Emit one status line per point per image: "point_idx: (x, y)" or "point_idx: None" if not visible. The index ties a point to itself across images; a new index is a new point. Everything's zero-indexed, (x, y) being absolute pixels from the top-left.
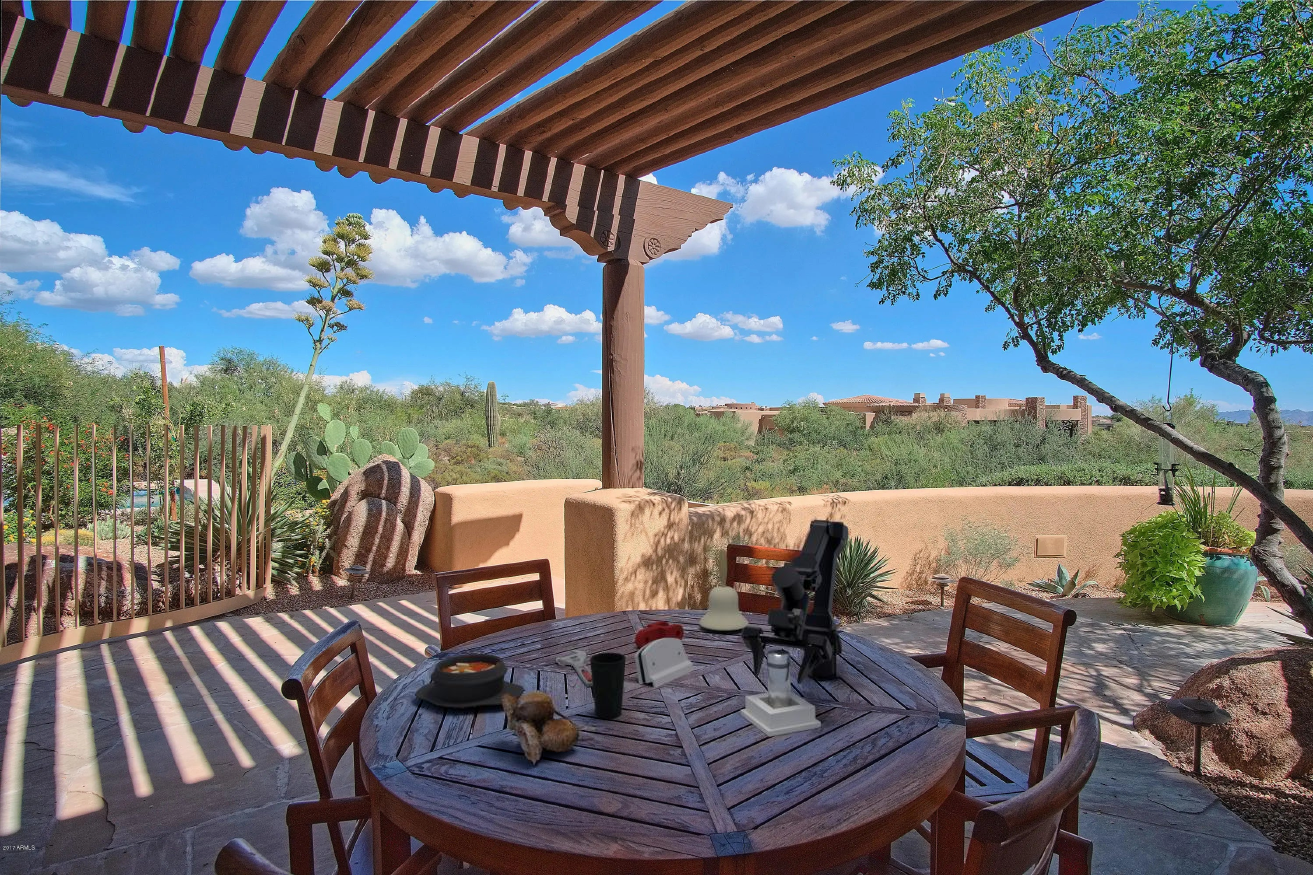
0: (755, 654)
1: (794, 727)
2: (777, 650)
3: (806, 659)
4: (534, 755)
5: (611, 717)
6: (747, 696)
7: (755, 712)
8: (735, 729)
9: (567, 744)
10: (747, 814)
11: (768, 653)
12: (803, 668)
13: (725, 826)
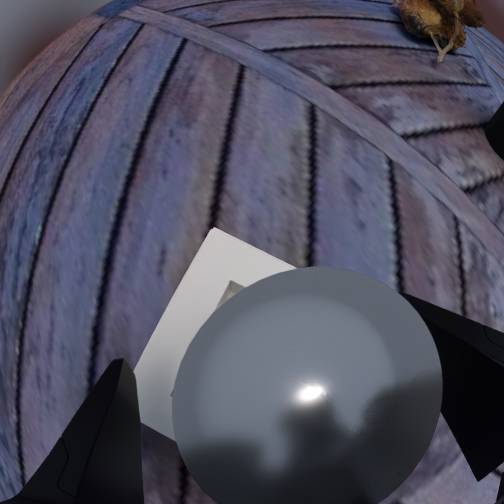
0: (495, 341)
1: (164, 313)
2: (382, 471)
3: (53, 480)
4: (394, 1)
5: (485, 128)
6: None
7: None
8: (316, 215)
9: (403, 17)
10: (117, 30)
11: (400, 309)
12: (79, 422)
13: (132, 11)
